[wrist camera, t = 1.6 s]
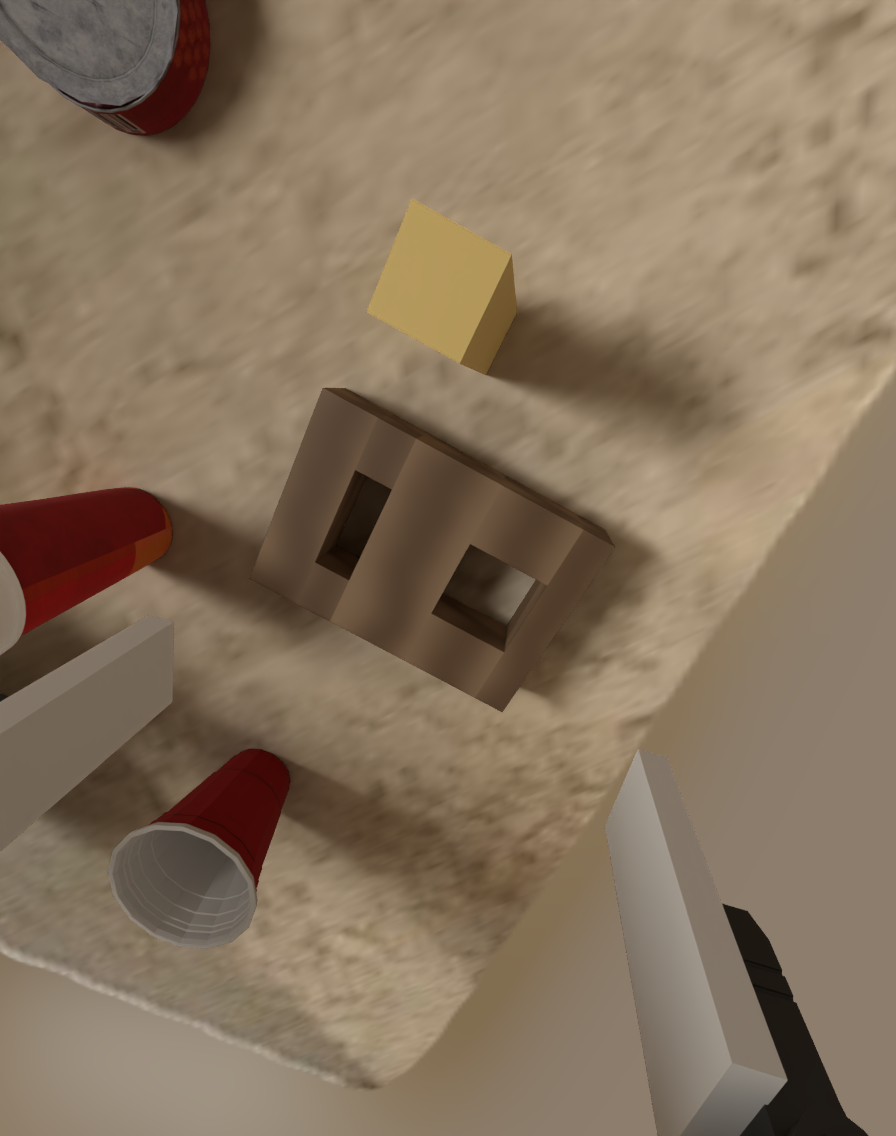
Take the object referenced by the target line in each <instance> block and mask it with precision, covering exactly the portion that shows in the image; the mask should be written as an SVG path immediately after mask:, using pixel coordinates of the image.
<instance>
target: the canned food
mask: <svg viewBox="0 0 896 1136" xmlns="http://www.w3.org/2000/svg"><path fill="white" fill-rule="evenodd" d="M0 40H1V41H2V42H3V43H4V44H6V45H7V46H8V47H9V48H10V49H11V50H12V51H13V52H14V53H15V54H16V55H17V56H18V57H19V58H20V59H21V60H22V61H23V62H24V63H25V64H26V65H27V67H28V68H29V69H30V70H31V71H32V72H33V73H34V74H35V75H36V76H37V77H38V78H40V79H42V80H44V81H45V82H47V83H49V84H50V85H51V86H52V87H53V88H54V89H56V90H57V91H58V92H59V93H60V94H61V95H62V96H63V97H65V98H66V99H68V100H70V101H71V102H73V103H75V104H76V105H78V106H80V107H82V108H83V109H85V110H86V111H88V112H89V113H91V114H93V115H94V116H96V117H97V118H99V119H100V120H102V121H103V122H105V123H107V124H108V125H110V126H112V127H113V128H115V129H117V130H120V131H123V132H126V133H129V134H133V135H145V136H146V135H152V134H157V133H161V132H163V131H165V130H167V129H169V128H171V127H173V126H174V125H176V124H177V123H178V122H179V121H180V120H182V119H183V118H184V117H185V116H186V115H187V113H188V112H189V111H190V109H191V108H192V107H193V105H194V104H195V102H196V100H197V98H198V96H199V94H200V92H201V90H202V87H203V85H204V81H205V77H206V74H207V70H208V64H209V55H210V24H209V18H208V13H207V7H206V2H205V0H0Z"/></svg>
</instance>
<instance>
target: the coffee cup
mask: <svg viewBox="0 0 896 1136" xmlns="http://www.w3.org/2000/svg"><path fill="white" fill-rule="evenodd" d="M171 541H172V525H171V521H170V518H169V516H168V514H167V512H166V510H165V509H164V507H163V506H162V504H161V503H160V502H159V501H158V500H157V499H156V498H155V497H153V496H152V495H150V494H149V493H147V492H145V491H143V490H140V489H137V488H130V487H124V488H114V489H106V490H99V491H92V492H86V493H79V494H72V495H66V496H60V497H53V498H47V499H40V500H33V501H26V502H18V503H11V504H4V505H0V655H1V654H3V653H4V652H5V651H7V650H8V649H10V648H11V647H13V645H14V644H15V643H16V642H17V641H18V640H19V638H20V636H21V635H23V634H25V633H27V632H29V631H30V630H32V629H34V628H36V627H38V626H39V625H41V624H43V623H45V622H47V621H48V620H50V619H52V618H54V617H56V616H57V615H59V614H61V613H63V612H65V611H66V610H68V609H70V608H72V607H74V606H75V605H77V604H79V603H81V602H83V601H84V600H86V599H88V598H90V597H92V596H93V595H95V594H97V593H99V592H101V591H102V590H104V589H106V588H108V587H110V586H111V585H113V584H115V583H117V582H119V581H120V580H122V579H124V578H126V577H127V576H129V575H131V574H133V573H134V572H136V571H138V570H140V569H142V568H143V567H145V566H147V565H148V564H150V563H152V562H153V561H155V560H157V559H158V558H160V557H161V556H162V555H163V554H164V553H165V552H166V551H167V550H168V548H169V547H170V544H171Z"/></svg>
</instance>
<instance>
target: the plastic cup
mask: <svg viewBox="0 0 896 1136" xmlns="http://www.w3.org/2000/svg"><path fill="white" fill-rule="evenodd" d="M289 784H290V778H289V772H288V770H287V769H286V767H285V765H284V764H283V762H282V761H280V760H279V759H278V758H277V757H276V756H274V755H273V754H271V753H268V752H266V751H263V750H258V749H248V750H245V751H242V752H240V753H239V754H237V755H235V756H233V757H232V758H231V759H230V760H229V761H228V762H227V763H226V764H224V765H223V766H222V767H221V768H220V769H219V770H218V771H217V772H214V773H213V774H211V775H210V776H209V777H208V778H207V779H206V780H204V781H203V782H202V783H201V784H200V785H199V786H197V787H196V788H195V789H194V790H193V791H192V792H190V793H189V794H188V795H187V796H186V797H185V798H183V799H182V800H181V801H180V802H179V803H178V804H176V805H175V806H174V807H173V808H172V809H171V810H169V811H168V812H166V813H164V814H163V815H162V816H160V817H159V818H158V819H157V820H154V821H153V822H151V823H150V824H149V825H148V826H145V827H142V828H139V829H136V830H134V831H132V832H130V833H129V834H128V835H127V836H126V837H125V838H124V839H123V840H122V841H121V842H120V843H119V844H118V845H117V846H116V848H115V849H114V850H113V852H112V856H111V860H110V865H109V869H108V876H109V879H110V883H111V887H112V891H113V895H114V897H115V899H116V900H117V902H118V903H119V904H120V906H121V907H122V909H123V910H124V911H125V913H126V914H127V916H128V917H129V918H130V919H131V920H132V921H133V922H135V923H136V924H137V925H139V926H140V927H141V928H143V929H144V930H145V931H147V932H148V933H149V934H150V935H152V936H153V937H156V938H159V939H161V940H164V941H166V942H169V943H171V944H174V945H176V946H179V947H188V948H200V949H210V948H213V947H217V946H220V945H224V944H228V943H231V942H233V941H234V940H235V939H236V938H237V937H239V936H240V935H241V934H242V933H243V932H244V931H246V930H247V929H248V928H249V926H250V923H251V920H252V917H253V914H254V912H255V909H256V906H257V895H256V891H257V889H256V888H257V885H258V882H259V880H258V879H259V876H260V873H261V870H262V865H263V862H264V859H265V857H266V854H267V851H268V848H269V845H270V843H271V840H272V837H273V834H274V831H275V829H276V826H277V823H278V820H279V817H280V814H281V809H282V806H283V804H284V801H285V799H286V796H287V793H288V790H289Z"/></svg>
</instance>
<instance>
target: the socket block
mask: <svg viewBox="0 0 896 1136" xmlns="http://www.w3.org/2000/svg"><path fill="white" fill-rule="evenodd" d="M366 476H368V477H369V478H371V479H373V480H375V481H377V482H379V483H381V484H382V485H384V486H386V487H388V488H390V489H392V491H391V493H390V495H389V497H388V499H387V502H386V504H385V506H384V508H383V510H382V512H381V514H380V516H379V519H378V521H377V523H376V525H375V527H374V529H373V531H372V533H371V535H370V538H369V540H368V542H367V544H366V546H365V548H364V550H363V552H362V554H361V557H360V558H358V557H356V556H354V555H353V554H351V553H349V552H347V551H345V550H343V549H341V548H339V547H338V546H336V543H337V541H338V539H339V537H340V534H341V532H342V530H343V528H344V526H345V523H346V521H347V519H348V517H349V514H350V512H351V510H352V508H353V505H354V503H355V501H356V499H357V496H358V494H359V492H360V490H361V487H362V485H363V483H364V481H365V479H366ZM470 544H471V545H473V546H475V547H477V548H479V549H480V550H482V551H484V552H486V553H488V554H490V555H492V556H493V557H495V558H497V559H499V560H501V561H503V562H505V563H506V564H508V565H510V566H512V567H514V568H516V569H518V570H519V571H521V572H523V573H525V574H527V575H529V576H531V577H532V578H534V579H536V580H535V582H534V584H533V585H532V587H531V588H530V590H529V592H528V593H527V595H526V596H525V598H524V599H523V601H522V603H521V604H520V606H519V607H518V609H517V610H516V612H515V614H514V615H513V617H512V618H511V620H510V622H509V623H508V625H507V626H504V625H502V624H500V623H498V622H496V621H494V620H493V619H491V618H489V617H487V616H485V615H483V614H481V613H479V612H478V611H476V610H474V609H472V608H470V607H468V606H466V605H464V604H463V603H461V602H459V601H457V600H455V599H453V598H451V597H449V596H448V595H446V594H444V593H443V591H444V590H445V588H446V586H447V584H448V582H449V581H450V579H451V577H452V575H453V573H454V572H455V570H456V568H457V566H458V565H459V563H460V561H461V559H462V557H463V556H464V554H465V552H466V550H467V548H468V547H469V545H470ZM614 548H615V546H614V544H613V543H612V541H611V539H610V537H609V536H608V534H607V532H606V531H605V530H604V529H602V528H600V527H599V526H597V525H595V524H593V523H591V522H589V521H588V520H586V519H584V518H582V517H580V516H578V515H577V514H575V513H573V512H571V511H569V510H567V509H566V508H564V507H562V506H560V505H558V504H556V503H555V502H553V501H551V500H549V499H547V498H545V497H544V496H542V495H540V494H538V493H536V492H534V491H533V490H531V489H529V488H527V487H525V486H523V485H522V484H520V483H518V482H516V481H514V480H512V479H510V478H509V477H507V476H505V475H503V474H501V473H499V472H498V471H496V470H494V469H492V468H490V467H488V466H487V465H485V464H483V463H481V462H479V461H477V460H476V459H474V458H472V457H470V456H468V455H466V454H465V453H463V452H461V451H459V450H457V449H455V448H454V447H452V446H450V445H448V444H446V443H444V442H443V441H441V440H439V439H437V438H435V437H433V436H432V435H430V434H428V433H426V432H424V431H422V430H421V429H419V428H417V427H415V426H413V425H411V424H410V423H408V422H406V421H404V420H402V419H400V418H399V417H397V416H395V415H393V414H391V413H389V412H388V411H386V410H384V409H382V408H380V407H378V406H377V405H375V404H373V403H371V402H369V401H367V400H366V399H364V398H362V397H360V396H358V395H356V394H355V393H353V392H351V391H349V390H347V389H345V388H323V389H322V391H321V394H320V396H319V399H318V402H317V404H316V407H315V409H314V412H313V415H312V417H311V420H310V422H309V425H308V428H307V430H306V433H305V435H304V438H303V441H302V443H301V446H300V448H299V451H298V454H297V456H296V459H295V461H294V464H293V466H292V469H291V472H290V474H289V477H288V479H287V482H286V485H285V487H284V490H283V492H282V495H281V498H280V500H279V503H278V505H277V508H276V511H275V513H274V516H273V518H272V521H271V524H270V526H269V529H268V531H267V534H266V537H265V539H264V542H263V544H262V547H261V549H260V552H259V555H258V557H257V560H256V562H255V565H254V568H253V570H252V573H251V575H250V578H249V579H251V580H253V581H255V582H256V583H258V584H260V585H262V586H264V587H266V588H268V589H270V590H272V591H274V592H275V593H277V594H279V595H281V596H283V597H285V598H287V599H289V600H291V601H292V602H294V603H296V604H298V605H300V606H302V607H304V608H306V609H308V610H310V611H311V612H313V613H315V614H317V615H319V616H321V617H323V618H325V619H327V620H328V621H330V622H332V623H334V624H336V625H338V626H340V627H342V628H344V629H346V630H347V631H349V632H351V633H353V634H355V635H357V636H359V637H361V638H363V639H364V640H366V641H368V642H370V643H372V644H374V645H376V646H378V647H380V648H382V649H383V650H385V651H387V652H389V653H391V654H393V655H395V656H397V657H399V658H400V659H402V660H404V661H406V662H408V663H410V664H412V665H414V666H416V667H417V668H419V669H421V670H423V671H425V672H427V673H429V674H431V675H433V676H435V677H436V678H438V679H440V680H442V681H444V682H446V683H448V684H450V685H452V686H453V687H455V688H457V689H459V690H461V691H463V692H465V693H467V694H469V695H471V696H472V697H474V698H476V699H478V700H480V701H482V702H484V703H486V704H488V705H489V706H491V707H493V708H495V709H497V710H499V711H501V712H503V711H504V709H505V708H506V706H507V705H508V703H509V702H510V700H511V699H512V697H513V696H514V694H515V693H516V691H517V690H518V689H519V687H520V686H521V684H522V683H523V681H524V680H525V678H526V677H527V675H528V674H529V672H530V671H531V669H532V668H533V667H534V665H535V664H536V662H537V661H538V659H539V658H540V656H541V655H542V653H543V652H544V650H545V649H546V648H547V646H548V645H549V643H550V642H551V640H552V639H553V637H554V636H555V634H556V633H557V631H558V630H559V628H560V627H561V626H562V624H563V623H564V621H565V620H566V618H567V617H568V615H569V614H570V612H571V611H572V609H573V608H574V606H575V605H576V604H577V602H578V601H579V599H580V598H581V596H582V595H583V593H584V592H585V590H586V589H587V587H588V586H589V584H590V583H591V582H592V580H593V579H594V577H595V576H596V574H597V573H598V571H599V570H600V568H601V567H602V565H603V564H604V562H605V561H606V560H607V558H608V557H609V555H610V554H611V552H612V551H613V549H614Z"/></svg>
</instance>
